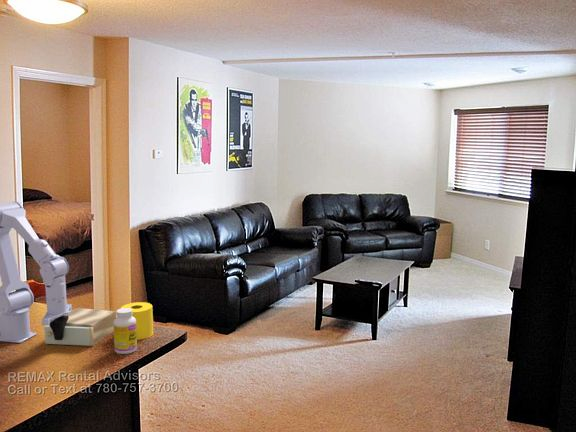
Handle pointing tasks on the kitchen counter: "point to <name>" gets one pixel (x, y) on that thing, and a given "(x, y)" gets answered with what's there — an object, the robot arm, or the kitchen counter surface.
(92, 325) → the cabinet
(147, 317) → the yellow toilet paper roll
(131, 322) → the supplement bottle
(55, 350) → the kitchen counter surface
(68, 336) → the door
